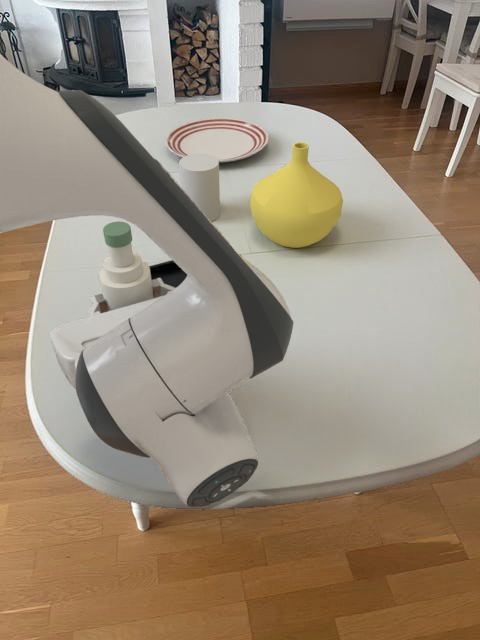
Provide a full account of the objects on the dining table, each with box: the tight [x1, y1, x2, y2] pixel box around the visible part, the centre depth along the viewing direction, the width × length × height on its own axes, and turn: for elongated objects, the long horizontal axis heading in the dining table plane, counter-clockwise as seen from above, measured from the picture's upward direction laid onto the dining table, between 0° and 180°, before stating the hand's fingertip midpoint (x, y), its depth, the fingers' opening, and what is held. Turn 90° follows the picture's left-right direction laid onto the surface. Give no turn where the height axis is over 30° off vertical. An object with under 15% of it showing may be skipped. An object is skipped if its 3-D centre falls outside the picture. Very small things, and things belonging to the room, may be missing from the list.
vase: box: [249, 141, 344, 249], centre depth 102 cm, size 18×18×19 cm
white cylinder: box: [178, 154, 221, 223], centre depth 110 cm, size 8×8×12 cm
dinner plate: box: [164, 117, 270, 164], centre depth 139 cm, size 28×27×3 cm
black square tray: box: [148, 259, 187, 288], centre depth 93 cm, size 11×11×3 cm
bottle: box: [98, 220, 154, 311], centre depth 63 cm, size 6×6×18 cm
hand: (126, 291), depth 64 cm, fingers closed on bottle, 6 cm apart
